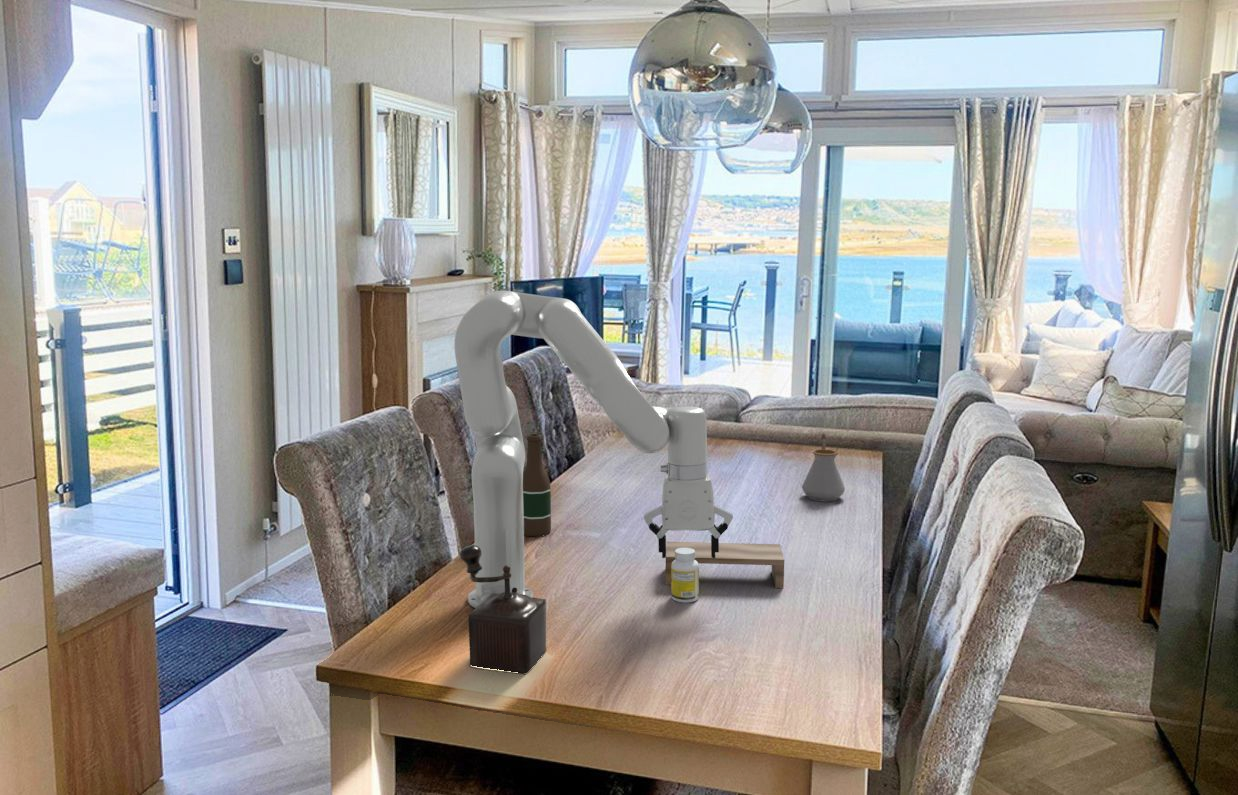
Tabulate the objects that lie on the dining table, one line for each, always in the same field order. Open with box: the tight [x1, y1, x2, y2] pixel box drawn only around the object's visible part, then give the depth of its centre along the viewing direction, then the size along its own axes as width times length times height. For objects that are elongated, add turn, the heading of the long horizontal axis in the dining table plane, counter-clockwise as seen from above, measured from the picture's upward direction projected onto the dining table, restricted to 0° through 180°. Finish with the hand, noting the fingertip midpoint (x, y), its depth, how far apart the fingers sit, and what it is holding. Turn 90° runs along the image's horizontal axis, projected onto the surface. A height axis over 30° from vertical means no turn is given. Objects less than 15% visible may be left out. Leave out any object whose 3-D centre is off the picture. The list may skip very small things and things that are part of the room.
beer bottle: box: [523, 433, 552, 537], centre depth 232 cm, size 8×8×24 cm
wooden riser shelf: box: [664, 541, 785, 589], centre depth 203 cm, size 10×24×6 cm, turn 86°
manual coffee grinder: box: [459, 544, 547, 674], centre depth 165 cm, size 16×11×18 cm
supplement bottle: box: [670, 548, 700, 604], centre depth 192 cm, size 5×5×10 cm
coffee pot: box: [801, 432, 846, 502], centre depth 269 cm, size 21×12×15 cm, turn 169°
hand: (688, 555), depth 191 cm, fingers open, 9 cm apart
